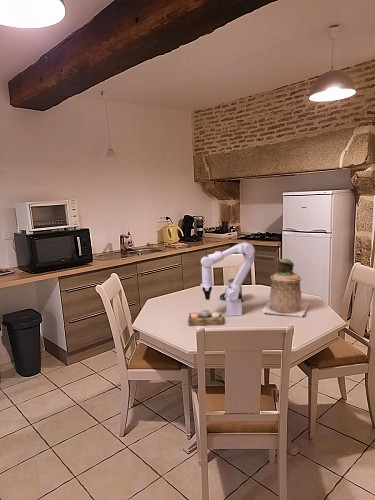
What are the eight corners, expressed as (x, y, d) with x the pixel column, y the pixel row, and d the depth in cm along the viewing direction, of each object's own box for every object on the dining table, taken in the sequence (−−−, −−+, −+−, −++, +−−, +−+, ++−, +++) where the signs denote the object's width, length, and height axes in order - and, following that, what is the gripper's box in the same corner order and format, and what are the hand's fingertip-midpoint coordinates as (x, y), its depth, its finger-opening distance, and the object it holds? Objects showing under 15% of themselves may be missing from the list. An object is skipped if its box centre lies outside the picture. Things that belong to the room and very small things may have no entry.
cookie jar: (304, 318, 197) (303, 262, 192) (260, 314, 208) (259, 261, 203) (309, 304, 219) (308, 254, 214) (269, 301, 230) (268, 253, 225)
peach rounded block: (199, 318, 204) (198, 312, 203) (198, 321, 199) (198, 315, 199) (191, 318, 204) (191, 312, 204) (190, 321, 200) (190, 315, 199)
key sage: (219, 317, 203) (219, 311, 202) (220, 320, 198) (219, 314, 198) (212, 317, 203) (211, 312, 203) (212, 320, 199) (211, 314, 198)
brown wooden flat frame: (221, 317, 207) (221, 312, 206) (222, 324, 195) (222, 319, 194) (189, 318, 208) (189, 313, 208) (188, 326, 196) (188, 320, 196)
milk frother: (242, 303, 229) (241, 281, 227) (218, 303, 232) (217, 282, 230) (243, 297, 243) (242, 276, 241) (220, 297, 246) (219, 276, 244)
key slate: (209, 315, 203) (209, 309, 203) (209, 318, 199) (209, 312, 198) (201, 316, 203) (201, 310, 203) (201, 318, 199) (200, 312, 198)
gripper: (200, 274, 214) (201, 296, 216) (199, 280, 199) (200, 303, 202) (212, 274, 213) (212, 295, 215) (212, 279, 199) (212, 303, 201)
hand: (207, 299), depth 208 cm, fingers closed
